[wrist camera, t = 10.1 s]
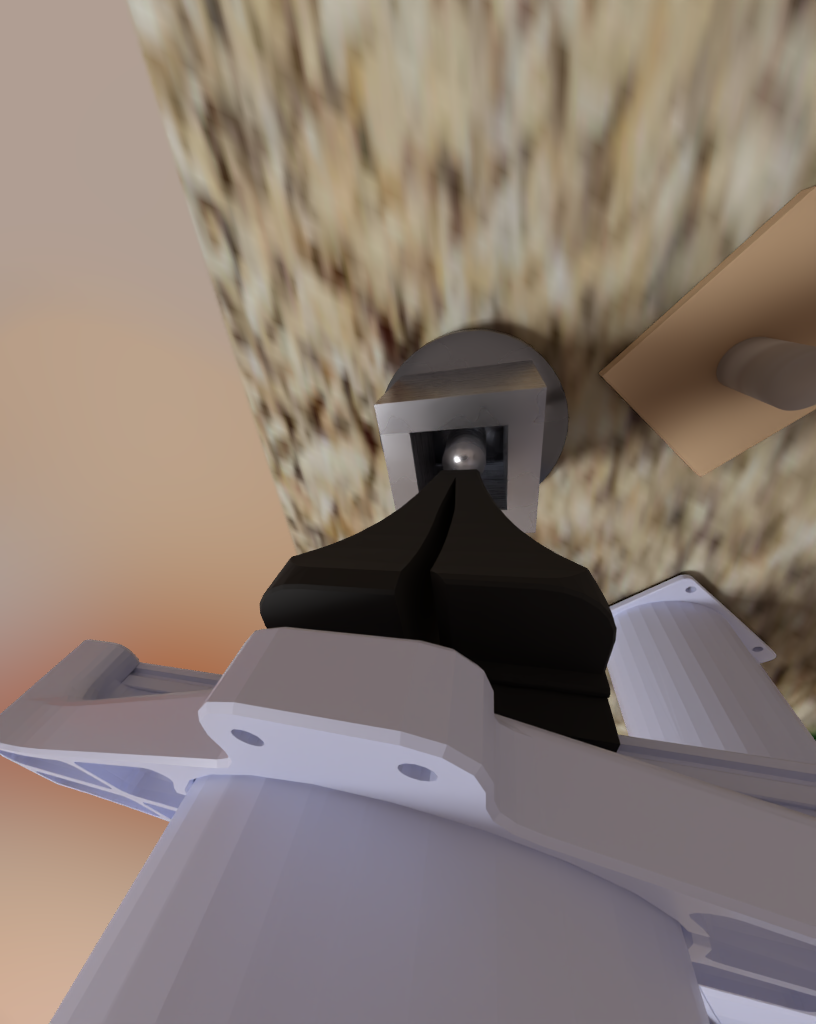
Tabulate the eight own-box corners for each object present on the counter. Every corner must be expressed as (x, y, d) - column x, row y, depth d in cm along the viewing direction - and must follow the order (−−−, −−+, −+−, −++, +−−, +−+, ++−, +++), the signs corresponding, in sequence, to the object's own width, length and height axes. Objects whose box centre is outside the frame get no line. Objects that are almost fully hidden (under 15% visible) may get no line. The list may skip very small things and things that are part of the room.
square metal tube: (531, 359, 13) (547, 387, 10) (525, 478, 16) (535, 532, 13) (402, 375, 15) (374, 404, 11) (418, 482, 18) (400, 532, 14)
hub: (607, 419, 15) (638, 455, 12) (472, 527, 20) (469, 573, 17) (462, 277, 13) (454, 275, 10) (353, 435, 18) (325, 467, 15)
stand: (903, 344, 12) (1039, 363, 9) (693, 471, 16) (740, 513, 13) (801, 190, 10) (924, 152, 7) (598, 373, 14) (626, 395, 11)
